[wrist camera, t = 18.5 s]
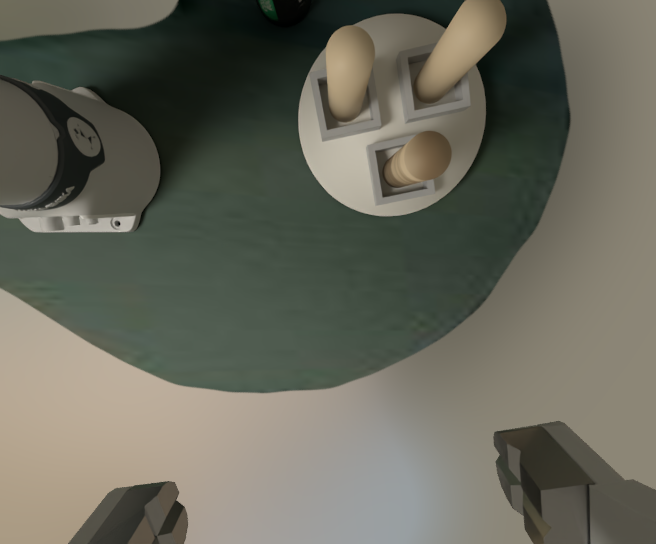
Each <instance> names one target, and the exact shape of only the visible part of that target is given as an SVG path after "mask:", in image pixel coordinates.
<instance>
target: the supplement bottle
mask: <svg viewBox="0 0 656 544" xmlns="http://www.w3.org/2000/svg"><path fill="white" fill-rule="evenodd" d="M311 1H312V0H256V2H257V5H258V7H259V9H260V11H261V13H262V14H263V16H264V17H265V18H266V19H267V20H268V21H269V22H271V23H272V24H274V25H276V26H280V27H290V26H293V25H295V24H297V23H299V22H300V21H301V20H302V19H303V18H304V17H305V16H306V14H307V13H308V11H309V8H310V5H311Z"/></svg>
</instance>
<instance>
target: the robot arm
mask: <svg viewBox="0 0 656 544" xmlns="http://www.w3.org/2000/svg"><path fill="white" fill-rule="evenodd" d="M159 180H160V160H159V155H158V152H157V149H156V146H155V144H154V142H153V140H152V138H151V136H150V135H149V133H148V132H147V131H146V129H145V128H144V127H143V126H142V125H141V124H140V123H139V122H138V121H137V120H136V119H134V118H133V117H132V116H130V115H129V114H127V113H125V112H123V111H121V110H119V109H116V108H114V107H112V106H110V105H108V104H106V103H105V102H104V101H103V100H102V99H101V98H100V97H99V96H98V95H97V94H96V93H95V92H93V91H92V90H90V89H87V88H84V87H78V88H75V89H73V90H71V91H70V90H67V89H64V88H61V87H58V86H55V85H51V84H48V83H45V82H42V81H32V84H29V83H26V82H24V81H21V80H17V79H14V78H13V79H12V78H9V77H5V76H2V75H0V214H1V215H3V216H4V217H7V218H19V219H20V221H21V222H22V223H23V224H24V225H25V226H26V227H28V228H29V229H30V230H31V231H33V232H133V231H135V230H136V229H137V227H138V224H139V221H140V217H141V213H142V211H143V210H144V208H145V207H146V206H147V205H148V203H149V202H150V201H151V200H152V198H153V196H154V195H155V193H156V190H157V188H158V185H159ZM118 221H119V222H120V226H119V225H118ZM494 446H495V448H496V449H497V451H498V452H499V454H500V456H499V457H498V459H497V460H496V467H497V474H498V477H499V480H500V483H501V487H502V489H503V491H504V493H505V495H506V497H507V499H508V501H509V503H510V504H511V506H512V508H513V509H514V510H516V511H517V512H519V513H520V514H521V515H523V516H524V525H525V530H526V532H527V533H528V535H529V537H530V539H531V540H532V542H533V543H534V544H656V490H655V489H652V488H650V487H648V486H646V485H643V484H642V483H639V482H637V481H635V480H624V479H623V478H622V477H621V476H620V475H619V474H618V473H617V472H616V471H615V470H614V469H613V468H612V467H611V466H610V465H608V464H607V463H606V462H605V461H604V460H603V459H602V458H601V457H600V456H599V455H598V454H597V453H596V452H595V451H593V450H592V449H591V448H590V447H589V446H588V445H587V444H586V443H585V442H584V441H583V440H582V439H581V438H580V437H579V436H578V435H577V434H575V433H574V432H573V431H572V430H571V429H570V428H569V427H568V426H567V425H566V424H565V423H563V422H560V421H556V422H550V423H545V424H539V425H537V426H536V425H534V426H528V427H521V428H515V429H509V430H503V431H497V432H495V433H494ZM178 494H179V491H178V489H177V486H176V484H175V482H169V481H168V482H159V483H151V484H143V485H135V486H131V487H122V488H116V489H114V490H112V491H111V492H109V493H108V494H107V495H106V497H105V498H104V499H103V500H102V502H101V503H100V504H99V505H98V507H97V508H96V509H95V511H94V512H93V513H92V514H91V516H90V517H89V518H88V519H87V521H86V522H85V523H84V524H83V526H82V527H81V528H80V529H79V531H78V532H77V533H76V535H75V536H74V537H73V538H72V540H71V541H70V542H69V543H68V544H184V541H185V539H186V533H187V528H188V520H187V519H188V518H187V512H186V510H185V507H184V506H183V505H181V504H180V503H179V502H178V501H176V499H177V497H178Z"/></svg>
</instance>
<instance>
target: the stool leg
mask: <svg viewBox="0 0 656 544" xmlns="http://www.w3.org/2000/svg"><path fill="white" fill-rule="evenodd" d="M451 156H452V151H451V146H450V144H449V142H448V140H447V139H446V138H445V137H444V136H443V135H442V134H440V133H438V132H435V131H424V132H421V133H419V134H417V135H416V136H415V137H413V138H412V139H411V140H410V141H409V142H408V143H406V144H405V145H404V146H403V147H402V148H401V149H399V150H398V151H397V152H396V153H395V154H394V155H393V156H391V157H390V158H389V159H388V160H387V161H386V162H385V164H384V166H383V170H382V175H383V179H384V181H385V182H386V183H387V184H388V185H389V186H391V187H394V188H401V187H405V186H409V185H412V184H416V183H420V182H424V181H428V180H431V179H435V178H437V177H439V176H440V175H442V174H443V173H444V172H445V171H446V169H447V168H448V166H449V164H450V161H451Z"/></svg>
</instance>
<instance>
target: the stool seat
mask: <svg viewBox="0 0 656 544" xmlns="http://www.w3.org/2000/svg"><path fill="white" fill-rule="evenodd" d="M505 27H506V12H505V8H504V6H503V4H502V3H501V1H500V0H466V1H465V2H464V3H463V4H462V5H461V7H460V8H459V10H458V12H457V13H456V15H455V16H454V18H453V19H452V21H451V23H450V24H449V26H448V27H447V29H445V28H443V27H442V26H440V25H439V24H437V23H435V22H432V21H430V20H428V19H425V18H422V17H418V16H415V15H408V14H385V15H379V16H375V17H372V18H368V19H365V20H363V21H361V22H358V23H356V24H354V25H350V26H344V27H342V28H340V29H338V30H337V31H336V32H334V33H333V35H332V36H331V37H330V39H329V41H328V43H327V46H326V48H325V49H324V50H323V51H322V52H321V53H320V55H319V56H318V58H317V59H316V61H315V62H314V64H313V66H312V68H311V70H310V72H309V74H308V76H307V78H306V81H305V84H304V87H303V90H302V94H301V99H300V104H299V114H298V125H299V135H300V142H301V146H302V149H303V153H304V156H305V158H306V161H307V163H308V166H309V167H310V169H311V171H312V173H313V174H314V176H315V177H316V179H317V180H318V181H319V183H320V184H321V185H322V187H323V188H324V189H325V190H326V191H327V192H328V193H329V194H330V195H331V196H332V197H334V198H335V199H336V200H338V201H339V202H341V203H342V204H344V205H346V206H347V207H349V208H352V209H354V210H356V211H359V212H363V213H366V214H370V215H377V216H398V215H405V214H409V213H412V212H416V211H418V210H421V209H423V208H426V207H428V206H430V205H431V204H433V203H435V202H437V201H438V200H440V199H441V198H442V197H444V196H445V195H446V194H448V193H449V192H450V191H451V190H452V189H453V188H454V187H455V186H456V185H457V184H458V183H459V181H460V180H461V179H462V178H463V177H464V175H465V174H466V172H467V171H468V169H469V168H470V166H471V165H472V163H473V161H474V159H475V157H476V155H477V152H478V150H479V147H480V144H481V141H482V137H483V133H484V128H485V119H486V99H485V93H484V87H483V83H482V80H481V76H480V73H479V71H478V69H477V66H476V63H477V62H478V61H479V60H480V59H481V58H482V57H483V56H484V55H485V54H486V53H487V52H488V51H489V50H490V49H491V48H492V47H493V46H494V45H495V44H496V43H497V42H498V41H499V40H500V38H501V37H502V35H503V33H504V30H505ZM424 131H435V132H438V133H440V134H442V135H443V136H444V137H445V138H446V139H447V140H448V142H449V144H450V146H451V151H452V156H451V161H450V164H449V166H448V168H447V169H446V171H445V172H444V173H443V174H442V175H440V176H439V177H437V178H435V179H431V180H428V181H424V182H420V183H416V184H412V185H409V186H405V187H401V188H394V187H391V186H389V185H388V184H387V183H386V182H385V181H384V179H383V175H382V170H383V166H384V164H385V162H386V161H387V160H388V159H389V158H390V157H391V156H393V155H394V154H395V153H396V152H397V151H398V150H399V149H401V148H402V147H403V146H404V145H405V144H406V143H408V142H409V141H410V140H411V139H412V138H413V137H415V136H416V135H417V134H419V133H421V132H424Z"/></svg>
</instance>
